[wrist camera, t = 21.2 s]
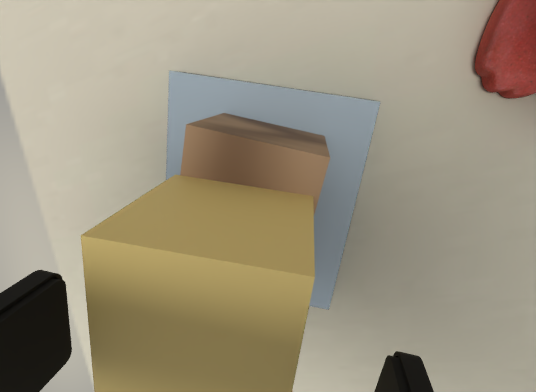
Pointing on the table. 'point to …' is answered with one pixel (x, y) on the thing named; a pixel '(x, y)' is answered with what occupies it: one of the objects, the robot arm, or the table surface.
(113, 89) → the table surface
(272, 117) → the base board
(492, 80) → the stacking bear
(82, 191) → the table surface
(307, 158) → the long brick
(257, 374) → the cube brick
